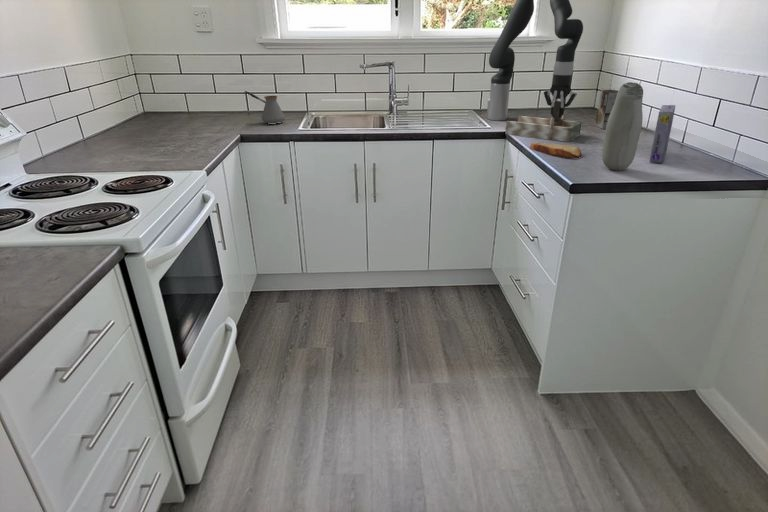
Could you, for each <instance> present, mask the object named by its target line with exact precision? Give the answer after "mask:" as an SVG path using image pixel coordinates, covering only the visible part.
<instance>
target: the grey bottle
mask: <svg viewBox="0 0 768 512" xmlns="http://www.w3.org/2000/svg"><path fill="white" fill-rule="evenodd" d="M617 91H618V93H617V97H616V100H615V104H614V106H613V108H612V111H611V113H610V116H609V118H608V122H607V127H606V129H605V133H604V134H605V135H604V139H603V140H604V141H603V146H602V152H601V160H602V163H603V165H604V166H605V167H606V168H607V169H610V170H611V169H612V171H623V170H626V169H627V168H629V167H630V165H632V163H633V161H634V160H635V157H636V152H637V148H638V144H639V140H640V135H641V132H642V131H641V130H642V127H643V97H644V89H643V87H642V85H641V84H639V83H637V82H631V81H630V82H626V83H623V84H622V85H621V86H620V87H619V89H618V90H617Z"/></svg>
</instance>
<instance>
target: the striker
mask: <svg viewBox="0 0 768 512" xmlns="http://www.w3.org/2000/svg"><path fill="white" fill-rule="evenodd" d="M560 108H561V102H560V100H557V101H556V102H554V109H553V116H552V115H551V118H554V124H553V126H559V127H561V126H562V122H563V119H562V117H559V112H560ZM549 125H550V123H549Z"/></svg>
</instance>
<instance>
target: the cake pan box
mask: <svg viewBox="0 0 768 512" xmlns="http://www.w3.org/2000/svg"><path fill="white" fill-rule="evenodd" d="M661 105H662V104H661ZM675 110H676V105H675V104H672V105H671V104H668V105H666V104H665V105H662V106H661V107H660V109H659V112H658V116H657V121H656V126H655V131H654V136H653V143H652V147H651V152H650V157H649V162H650V163H657V164H661V163H663V164H664V162H665V158H666V155H667V150H668V146H669V142H670V136H671V132H672V126H673V121H674V117H675V116H674V115H675V112H676V111H675Z"/></svg>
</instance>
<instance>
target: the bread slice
mask: <svg viewBox="0 0 768 512" xmlns="http://www.w3.org/2000/svg"><path fill="white" fill-rule="evenodd" d="M529 149H530V150H533V151H536V152H539V153H542V154H545V155H549V156H552V157H558V156H559V157H558V158H563V157H565V159H569V158H579V157H581V156H582V157H583V154H582V151H581V150H580V148H579V147H577V146H573V145H570V144H569V145H567V144H557V143H548V142H547V143H544V142H532V143H531V144H530V146H529ZM582 157H581V158H582ZM579 159H580V158H579Z"/></svg>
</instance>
